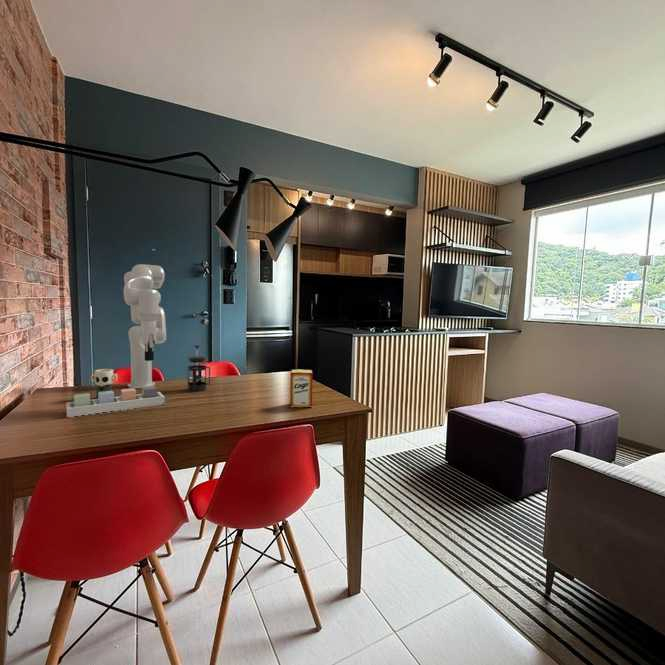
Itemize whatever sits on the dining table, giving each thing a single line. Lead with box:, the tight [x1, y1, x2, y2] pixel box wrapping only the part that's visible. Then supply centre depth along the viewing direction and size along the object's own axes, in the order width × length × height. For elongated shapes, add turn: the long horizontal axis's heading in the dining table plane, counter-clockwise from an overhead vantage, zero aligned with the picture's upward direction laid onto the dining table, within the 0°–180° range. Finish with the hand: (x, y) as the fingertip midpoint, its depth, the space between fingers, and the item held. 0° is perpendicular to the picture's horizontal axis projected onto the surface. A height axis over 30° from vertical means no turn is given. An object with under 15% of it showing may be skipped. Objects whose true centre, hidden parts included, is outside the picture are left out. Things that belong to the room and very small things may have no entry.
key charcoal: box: [141, 385, 158, 398], centre depth 154 cm, size 5×5×4 cm
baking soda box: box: [289, 368, 314, 407], centre depth 156 cm, size 10×6×16 cm
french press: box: [186, 344, 211, 393], centre depth 179 cm, size 12×9×23 cm
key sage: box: [73, 392, 91, 407], centre depth 139 cm, size 5×5×4 cm
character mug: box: [90, 368, 118, 399], centre depth 159 cm, size 11×7×13 cm, turn 100°
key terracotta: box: [120, 388, 137, 401], centre depth 149 cm, size 5×5×4 cm
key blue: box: [98, 389, 115, 404], centre depth 144 cm, size 5×5×4 cm
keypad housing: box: [65, 391, 166, 418], centre depth 146 cm, size 10×34×4 cm, turn 128°
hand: (149, 360), depth 152 cm, fingers closed
